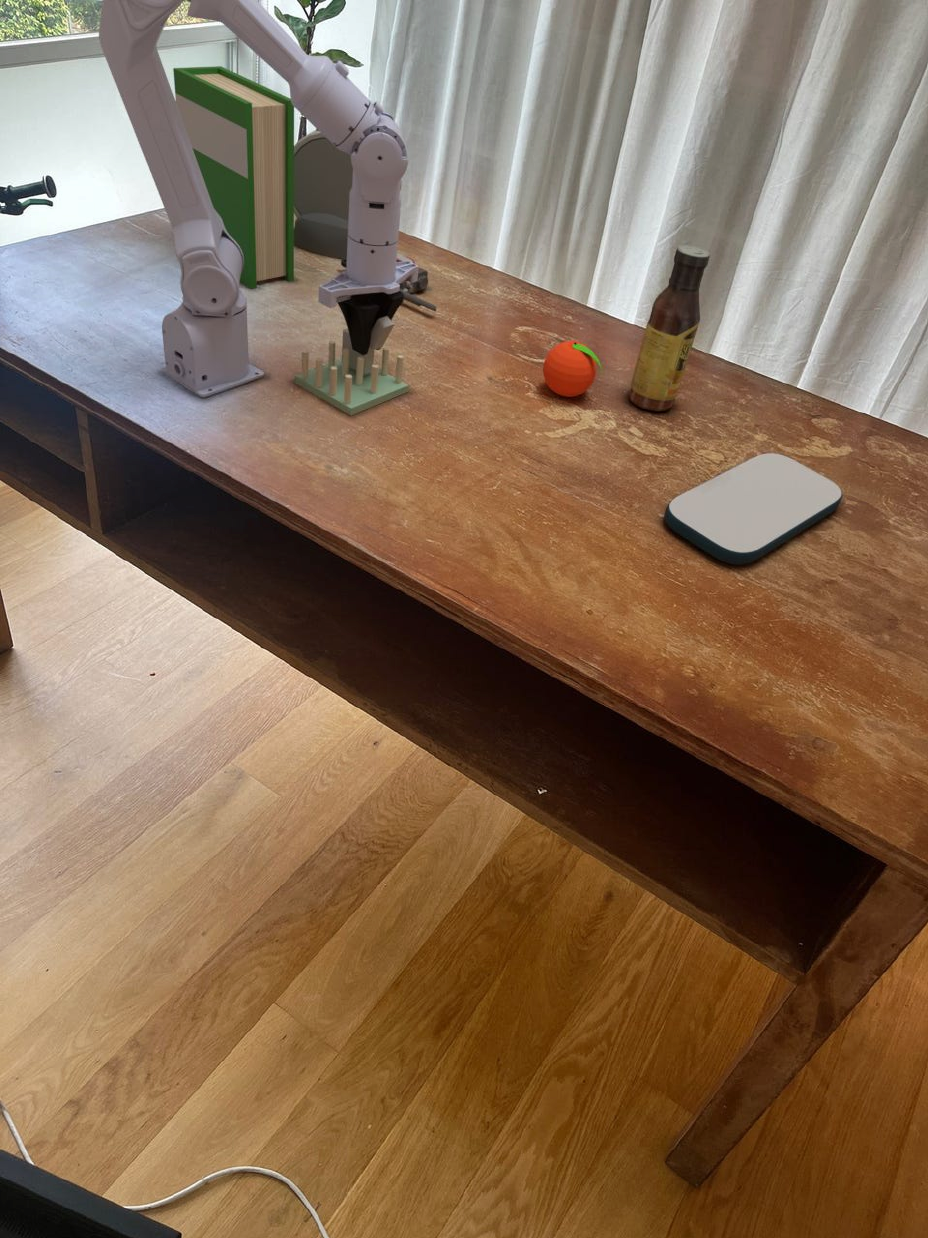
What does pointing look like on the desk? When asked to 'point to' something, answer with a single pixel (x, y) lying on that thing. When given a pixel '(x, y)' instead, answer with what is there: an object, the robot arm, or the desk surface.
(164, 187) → the robot arm
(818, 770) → the desk surface
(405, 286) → the walkie-talkie
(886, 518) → the desk surface
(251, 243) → the hardback book
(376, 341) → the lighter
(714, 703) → the desk surface
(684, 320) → the sauce bottle
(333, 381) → the dish rack
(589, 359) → the clementine
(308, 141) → the alarm clock
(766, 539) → the external hard drive
